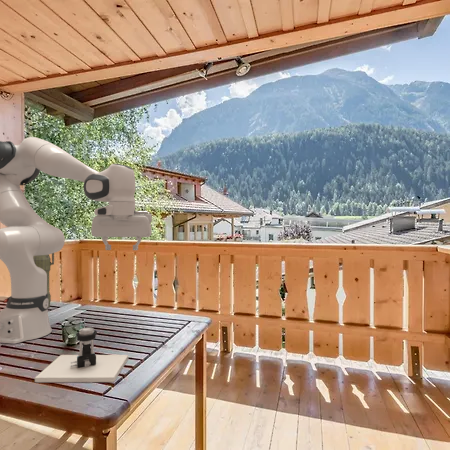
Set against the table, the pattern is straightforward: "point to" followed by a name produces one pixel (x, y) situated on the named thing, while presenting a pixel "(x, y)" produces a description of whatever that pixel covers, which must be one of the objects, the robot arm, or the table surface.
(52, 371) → the board
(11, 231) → the robot arm
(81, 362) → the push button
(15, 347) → the table surface
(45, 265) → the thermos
